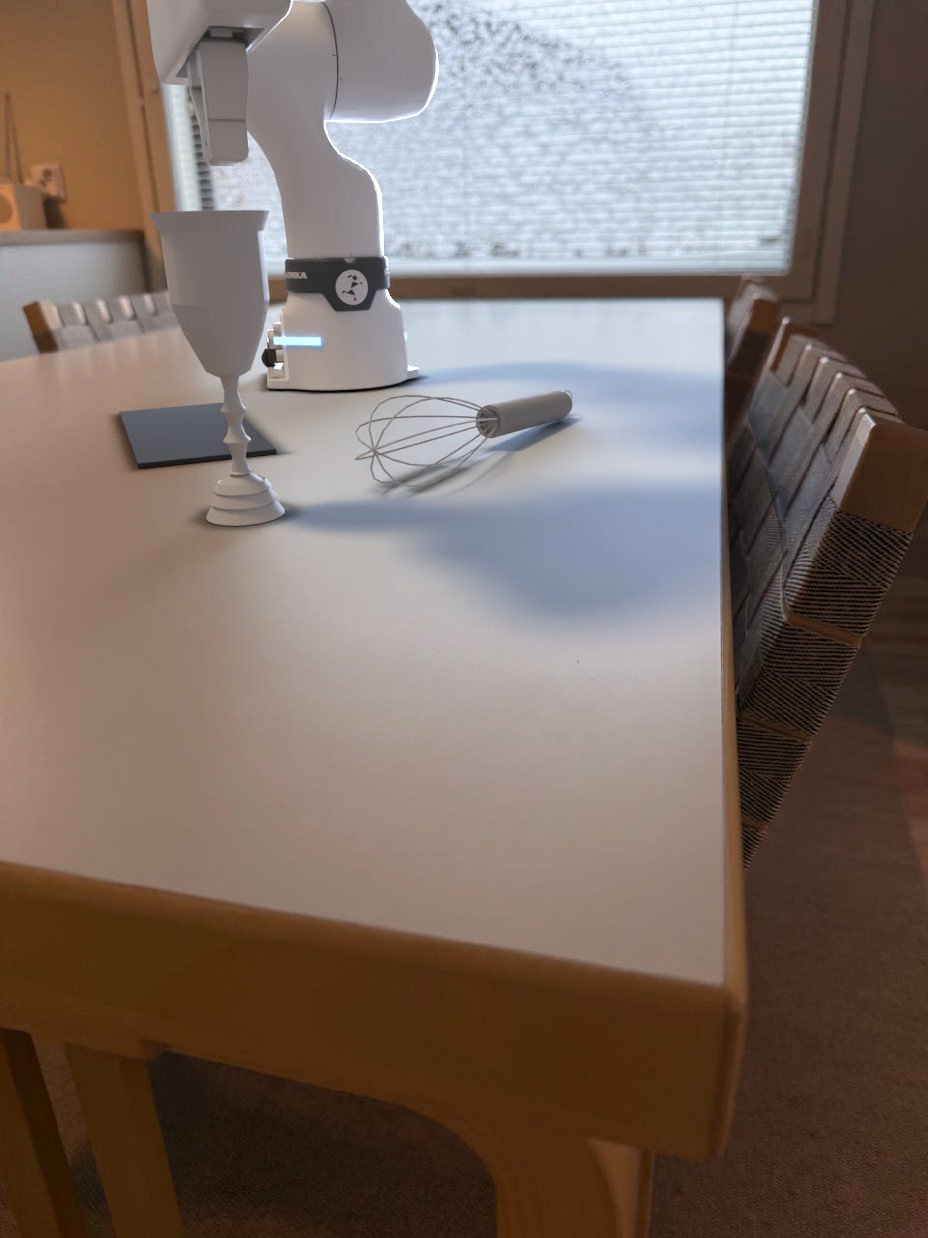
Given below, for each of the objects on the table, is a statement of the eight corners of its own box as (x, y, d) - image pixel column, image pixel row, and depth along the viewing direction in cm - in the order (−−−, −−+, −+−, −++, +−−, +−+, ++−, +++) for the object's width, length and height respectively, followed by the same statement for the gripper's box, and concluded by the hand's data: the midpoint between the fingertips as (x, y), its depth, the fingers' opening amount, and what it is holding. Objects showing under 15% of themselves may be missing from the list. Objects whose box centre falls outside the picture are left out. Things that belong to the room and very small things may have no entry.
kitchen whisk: (599, 416, 88) (601, 348, 86) (413, 508, 61) (409, 412, 59) (540, 412, 91) (540, 345, 88) (338, 498, 64) (330, 406, 61)
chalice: (189, 505, 62) (147, 214, 55) (290, 495, 64) (262, 212, 57) (194, 535, 56) (148, 211, 49) (306, 523, 58) (277, 209, 51)
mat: (119, 415, 95) (119, 411, 95) (227, 405, 99) (227, 402, 99) (138, 468, 73) (137, 463, 73) (276, 453, 76) (276, 448, 76)
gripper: (101, -114, 48) (143, 178, 54) (126, -322, 31) (185, 143, 36) (223, -102, 50) (252, 177, 56) (311, -290, 33) (341, 144, 38)
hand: (226, 164), depth 46 cm, fingers closed
